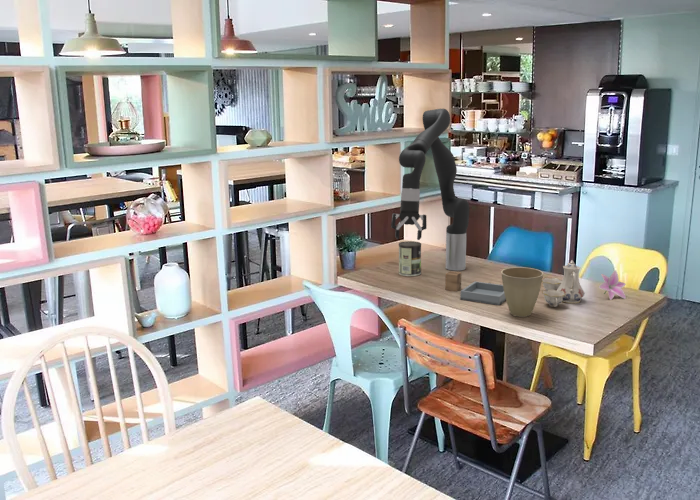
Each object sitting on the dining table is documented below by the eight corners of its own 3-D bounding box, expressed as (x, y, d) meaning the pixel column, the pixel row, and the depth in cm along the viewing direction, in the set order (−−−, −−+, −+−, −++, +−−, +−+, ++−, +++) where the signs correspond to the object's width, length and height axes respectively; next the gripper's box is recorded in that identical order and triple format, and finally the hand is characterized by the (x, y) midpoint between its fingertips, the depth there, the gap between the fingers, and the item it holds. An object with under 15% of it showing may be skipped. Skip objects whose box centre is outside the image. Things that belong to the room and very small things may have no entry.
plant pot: (503, 305, 254) (505, 265, 251) (543, 310, 249) (545, 269, 245) (496, 317, 241) (497, 275, 237) (538, 322, 235) (540, 279, 232)
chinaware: (537, 292, 276) (534, 254, 273) (578, 290, 273) (576, 251, 270) (545, 314, 249) (542, 271, 246) (591, 311, 246) (589, 268, 243)
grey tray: (474, 289, 276) (474, 281, 275) (512, 294, 268) (512, 286, 267) (460, 299, 263) (460, 290, 262) (499, 305, 255) (499, 296, 254)
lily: (592, 301, 262) (603, 283, 256) (590, 282, 271) (600, 265, 265) (621, 310, 262) (633, 293, 256) (618, 291, 271) (629, 274, 265)
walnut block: (449, 287, 280) (450, 271, 279) (460, 288, 278) (461, 272, 276) (445, 289, 276) (445, 273, 274) (456, 291, 274) (456, 275, 272)
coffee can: (420, 270, 307) (420, 240, 304) (421, 276, 297) (422, 245, 294) (397, 270, 307) (397, 241, 304) (399, 276, 297) (399, 246, 294)
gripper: (425, 200, 273) (423, 239, 274) (391, 198, 271) (389, 237, 273) (429, 200, 265) (427, 241, 267) (394, 199, 264) (392, 239, 266)
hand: (408, 239), depth 270 cm, fingers open, 8 cm apart
